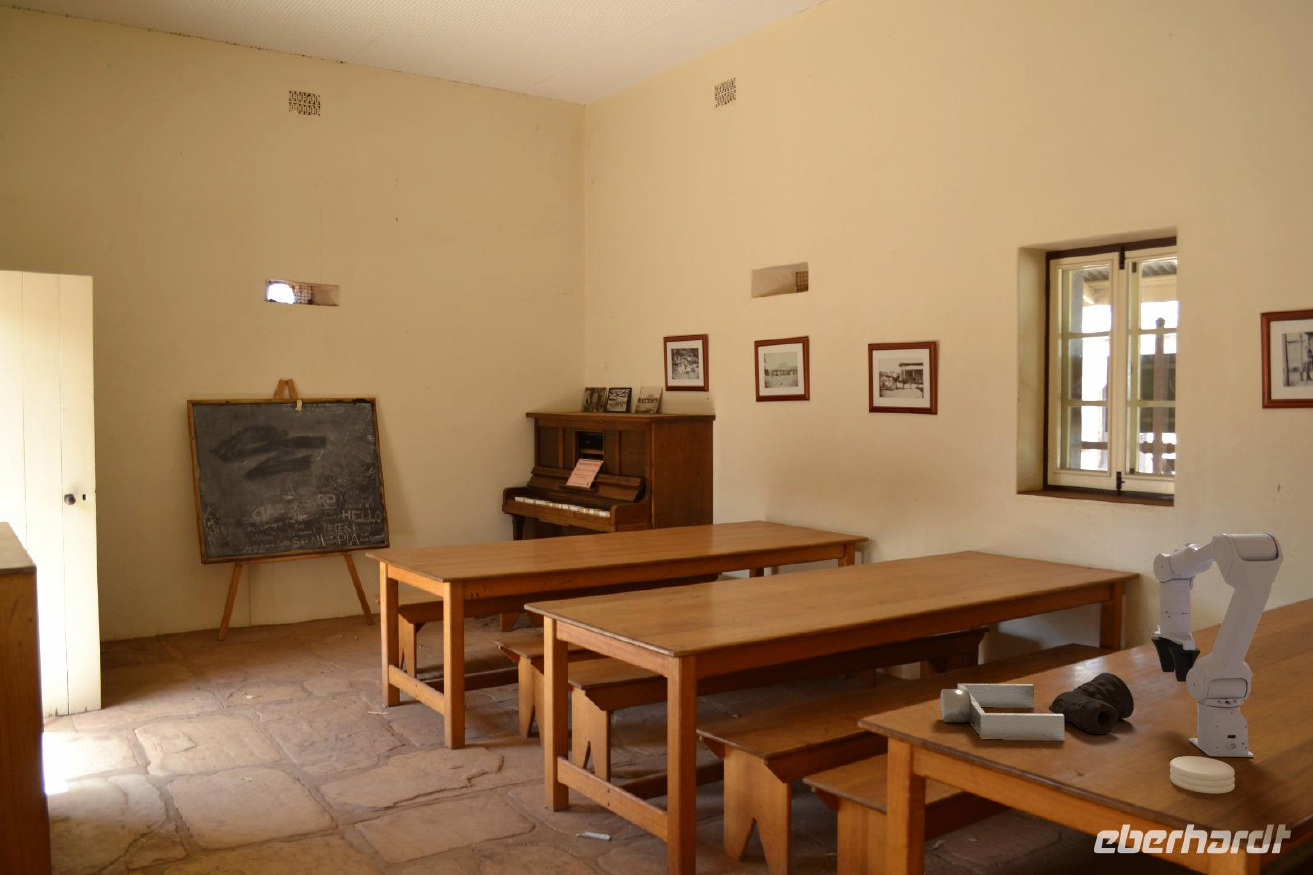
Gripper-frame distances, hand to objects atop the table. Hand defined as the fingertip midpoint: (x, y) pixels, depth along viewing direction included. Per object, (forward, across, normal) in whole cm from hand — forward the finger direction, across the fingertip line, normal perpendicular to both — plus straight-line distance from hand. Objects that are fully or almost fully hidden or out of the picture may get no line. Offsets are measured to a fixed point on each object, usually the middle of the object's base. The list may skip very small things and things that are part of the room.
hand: (1175, 676), depth 210 cm
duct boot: (+10, 0, -36) cm, 38 cm away
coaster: (+10, +34, -9) cm, 37 cm away
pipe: (+10, 0, -16) cm, 19 cm away
